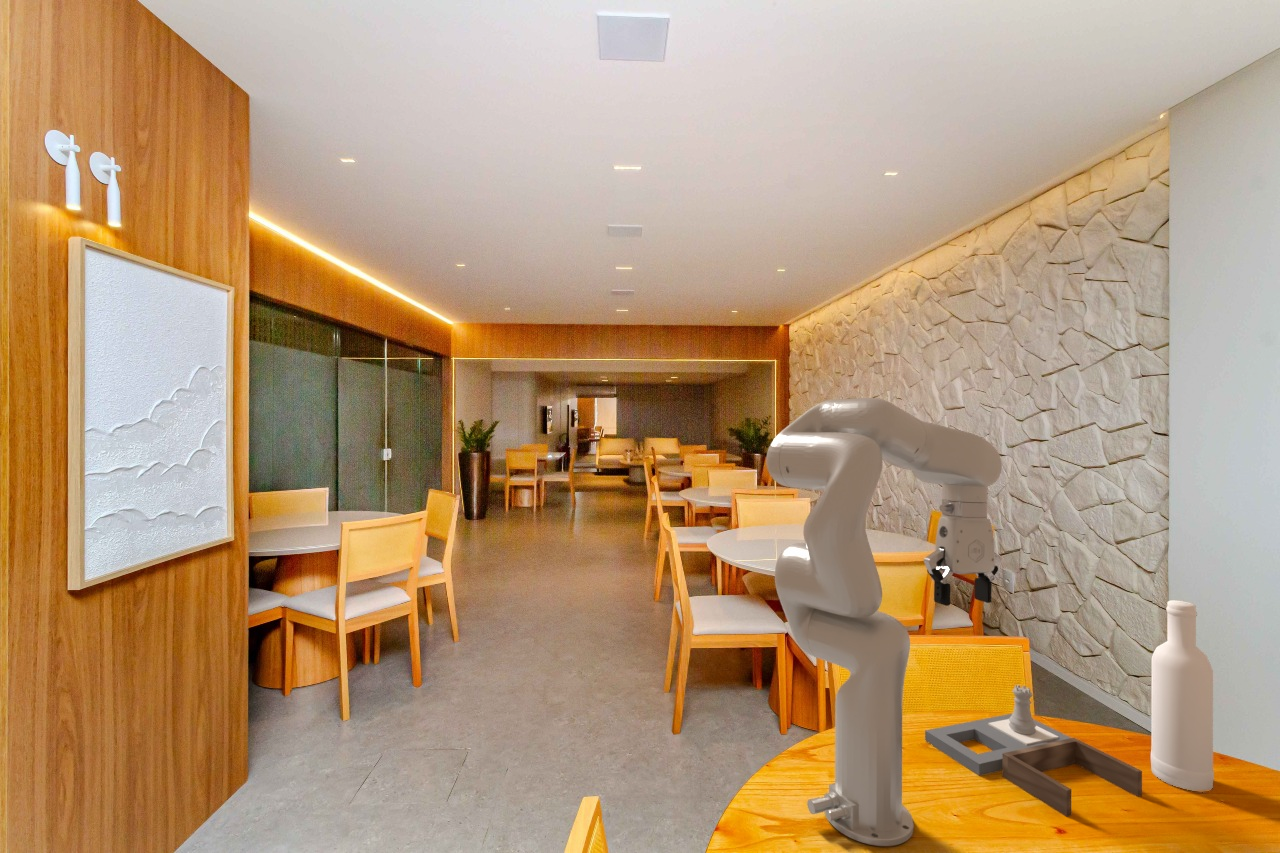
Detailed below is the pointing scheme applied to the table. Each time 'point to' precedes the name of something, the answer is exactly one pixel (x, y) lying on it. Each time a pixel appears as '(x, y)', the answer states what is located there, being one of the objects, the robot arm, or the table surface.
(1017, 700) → the rook chess piece
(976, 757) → the hole board
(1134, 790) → the walnut pen
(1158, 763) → the bottle
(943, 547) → the robot arm
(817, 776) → the table surface
